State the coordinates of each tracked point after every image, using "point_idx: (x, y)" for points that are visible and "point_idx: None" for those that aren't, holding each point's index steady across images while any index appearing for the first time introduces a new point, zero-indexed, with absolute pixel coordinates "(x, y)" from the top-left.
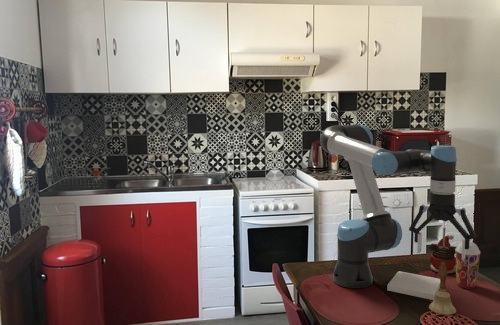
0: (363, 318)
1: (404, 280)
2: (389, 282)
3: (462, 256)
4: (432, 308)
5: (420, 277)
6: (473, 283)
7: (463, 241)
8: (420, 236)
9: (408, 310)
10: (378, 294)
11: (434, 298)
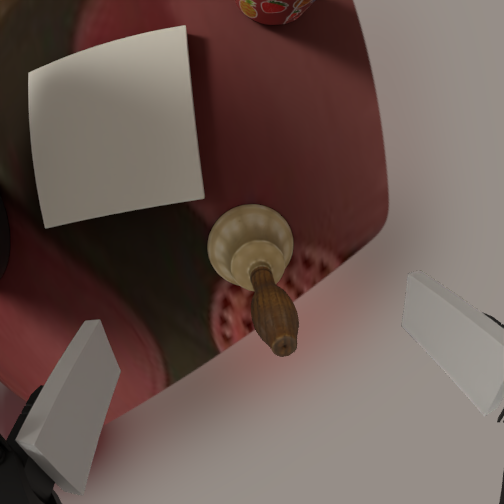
0: (119, 406)
1: (67, 140)
2: (39, 200)
3: (416, 335)
4: (228, 280)
5: (107, 64)
6: (303, 12)
7: (484, 403)
8: (77, 462)
9: (171, 320)
10: (54, 272)
11: (228, 267)
